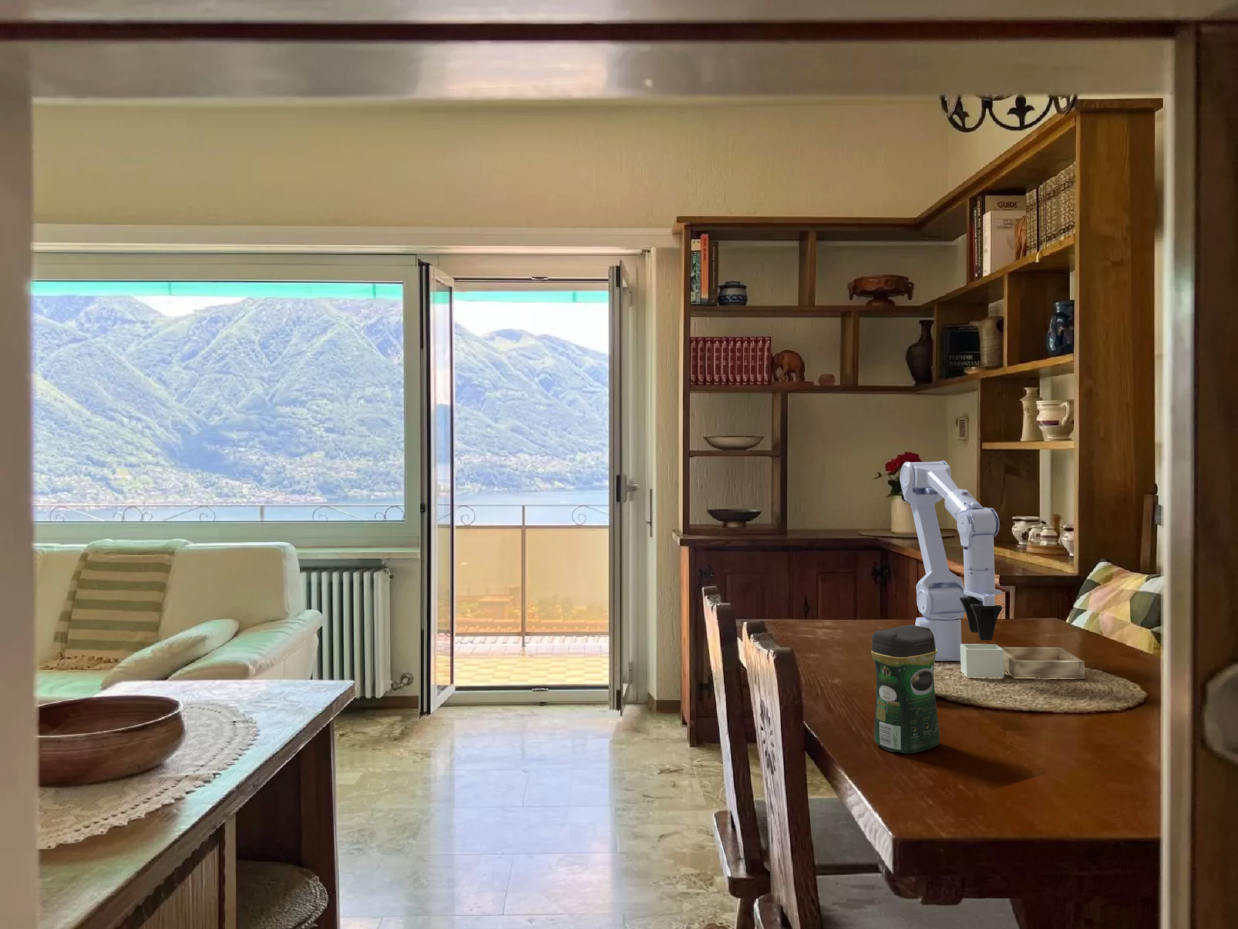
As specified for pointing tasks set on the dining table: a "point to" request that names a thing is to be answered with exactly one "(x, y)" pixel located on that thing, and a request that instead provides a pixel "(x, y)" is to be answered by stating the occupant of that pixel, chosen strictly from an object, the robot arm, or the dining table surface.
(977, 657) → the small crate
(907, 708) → the coffee jar
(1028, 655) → the wooden tray
